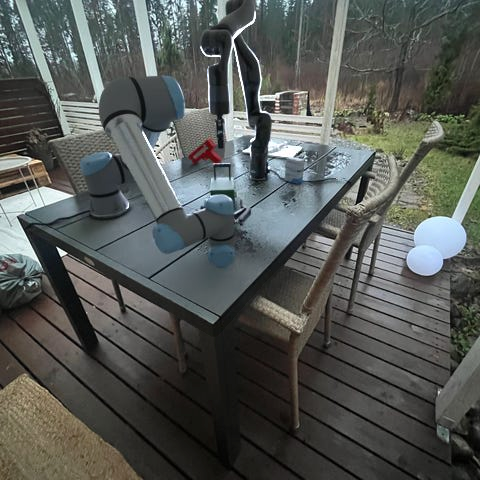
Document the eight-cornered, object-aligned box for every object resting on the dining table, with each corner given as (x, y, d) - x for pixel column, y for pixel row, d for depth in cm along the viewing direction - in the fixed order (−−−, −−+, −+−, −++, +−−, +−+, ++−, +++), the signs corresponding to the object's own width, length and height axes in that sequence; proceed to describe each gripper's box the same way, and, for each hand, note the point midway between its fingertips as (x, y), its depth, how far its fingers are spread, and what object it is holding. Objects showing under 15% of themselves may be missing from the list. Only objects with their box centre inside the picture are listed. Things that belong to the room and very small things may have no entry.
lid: (212, 180, 117) (210, 161, 113) (233, 179, 118) (233, 161, 113) (210, 192, 105) (208, 172, 101) (234, 192, 106) (233, 172, 101)
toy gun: (225, 158, 166) (210, 137, 162) (223, 160, 163) (207, 139, 159) (205, 174, 176) (191, 154, 172) (202, 176, 173) (188, 156, 169)
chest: (213, 202, 122) (211, 180, 117) (234, 201, 123) (233, 180, 117) (211, 216, 111) (210, 193, 105) (234, 215, 111) (234, 192, 106)
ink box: (302, 181, 142) (305, 159, 136) (297, 184, 139) (300, 161, 133) (289, 177, 147) (291, 156, 141) (284, 180, 144) (285, 158, 138)
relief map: (291, 159, 177) (291, 151, 174) (243, 153, 190) (243, 145, 187) (302, 149, 197) (303, 142, 194) (258, 144, 211) (258, 137, 208)
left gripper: (185, 241, 89) (192, 212, 107) (260, 239, 90) (255, 210, 108) (182, 221, 85) (190, 194, 103) (261, 219, 86) (255, 193, 104)
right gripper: (209, 97, 104) (212, 141, 113) (207, 101, 92) (210, 150, 101) (229, 97, 104) (230, 141, 113) (229, 101, 92) (230, 150, 101)
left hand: (223, 202), depth 105 cm, fingers open, 13 cm apart
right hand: (221, 145), depth 107 cm, fingers open, 8 cm apart
